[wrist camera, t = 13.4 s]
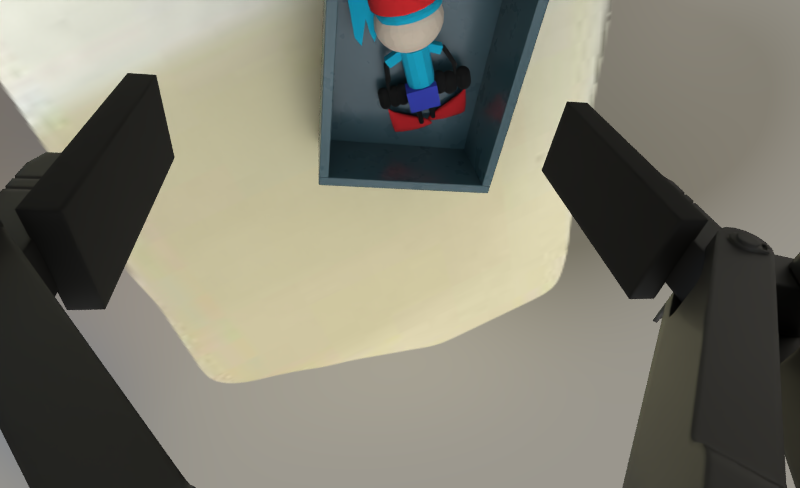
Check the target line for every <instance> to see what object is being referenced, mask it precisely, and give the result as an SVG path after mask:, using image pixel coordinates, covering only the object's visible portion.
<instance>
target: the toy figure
mask: <svg viewBox="0 0 800 488" xmlns="http://www.w3.org/2000/svg"><path fill="white" fill-rule="evenodd" d="M442 2H443V1H442V0H348V4H349V9H350V15H351V20H352V26H353V32H354V37H355V39H356V40H357V41H358V42H359V44H360V45H361V46H362V41H363V33H364V26H365V19H366V22H367V25H368V28H369V32H370V34H371V36H372V38H373V40H374V42H375V39H376V36H377V37H378V39H379V40H380V41H381V43H382V44H383V45H384V46H386V47H387V48H389V49H390V50H393V51H392V52H390V53H389V54H387V55H386V56H385V57H384V60H385V62H384V63H383V64H384V71H385V81H386V86H387V89H386V88H384V87H382V88H380V89H379V90H378V97H379V101H380V106H381V107H382V108H383V109H388V111H389V115H390V119H391V122H392V125H393V128H394V130H395V132H403V131H409V130H414V129H419V128H422V127H425V126H427V125H430V124H432V121H430V120H438V119H444V118H447V117H451V116H454V115H458V114H460V113H462V112H464V111H465V106H466V89H467V88H469V86H470V84H471V75H470V70H469V68H468V67H466V66H460V67H458V68H457V69H456V65H457V62H456V61H455V59H454V58H453V56H452V55H451V53H450V52H449V50H448V49H447V47H446V46H445V45H442V42H438V41H434V39H435V38H436V37H437V36H438V34H439V32H440V31H441V28H442V25H443V21H444V10H443V7H442ZM442 50H443V52H444V53H445V54H446V56H447V57H448V59H449V60H450V62H451V63H452V67H453V71H451V70H447V71H445V72H443V71H441V70H436V71H434V70H433V64H432V59H431V54H430V52H431V53H436V54H441V51H442ZM401 60H402V64H403V68H404V72H405V76H406V80H407V83H406V84H404V83H399V84H398V85H397V86H395V85H392V86H390V84H389V83H390V82H391V77H390V69H389V68H392V67H393V66H394V65H396V64H397V63H399V62H400V61H401ZM457 86H458V87H459V88H460V89H463V90H462V91H461V92H460V93H459V94H457V95H456V96H455V97H453V98H452V99H451V100H449V101H448V102H446V103H445V104H444V105H442V106H441V107H439V108H438V109H437V110H435V111H434V107H436V106H440V105H441V104H440V99H439V94H440V93H443V92H446V93H448V94H451V93H454V92H455V91H456V89H457ZM438 93H439V94H438ZM408 102H409V106H410V110H411V113H415V112H417V115H418V117H417V116H412V115H407V114H402V113H398V112H394V111H392V110H390V109H389V108H390V106H391V105H392V106H394V107H398V106H399V105H400V104H401V105H406V104H407V103H408ZM426 109H429V111H430V116H429V117H428V119H426V118H423V115H422V111H423V110H426Z"/></svg>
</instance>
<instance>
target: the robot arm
mask: <svg viewBox="0 0 800 488" xmlns="http://www.w3.org/2000/svg"><path fill="white" fill-rule="evenodd" d="M173 160H174V153H173V149H172V144H171V140H170V135H169V131H168V126H167V122H166V117H165V113H164V108H163V104H162V99H161V95H160V90H159V86H158V81H157V77H156V75H148V74H133V73H127V75H126V76H125V77H124V78H123V79H122V81H121V82H120V83H119V84H118V85H117V87H116V88H115V89H114V90H113V91H112V93H111V94H110V95H109V96H108V97H107V99H106V100H105V101H104V102H103V103H102V105H101V106H100V107H99V108H98V110H97V111H96V112H95V113H94V114H93V116H92V117H91V118H90V119H89V120H88V122H87V123H86V124H85V125H84V126H83V128H82V129H81V130H80V131H79V132H78V134H77V135H76V136H75V137H74V138H73V140H72V141H71V142H70V143H69V144H68V146H67V147H66V148H65V149H64V150H63V152H62V153H49V152H46V153H44V154H42V155H40V156H39V157H37V158H35V159H33V160H31V161H30V162H28V163H26V164H25V165H24V166H23V168H22V169H21V170H20V171H19V172H18V173H17V174H16V175H15V178H13V179H12V180H11V181H10V182H9V183H8V184H7V185H6V189H2V191H1V192H0V429H1V431H2V433H3V435H4V437H5V439H6V441H7V443H8V445H9V447H10V449H11V451H12V453H13V455H14V457H15V459H16V461H17V463H18V465H19V467H20V469H21V471H22V473H23V475H24V477H25V479H26V481H27V483H28V485H29V487H30V488H195V487H194V486H192V485H190V484H189V483H188V482H187V481H186V479H185V478H184V477H183V475H182V474H181V473H180V471H179V470H178V469H177V467H176V466H175V464H174V463H173V462H172V460H171V459H170V457H169V456H168V455H167V454H166V452H165V451H164V449H163V448H162V446H161V445H160V444H159V442H158V441H157V439H156V438H155V436H154V435H153V434H152V432H151V431H150V429H149V428H148V427H147V425H146V424H145V422H144V421H143V420H142V418H141V417H140V416H139V414H138V413H137V411H136V410H135V409H134V407H133V406H132V404H131V403H130V401H129V400H128V399H127V397H126V396H125V394H124V393H123V392H122V390H121V389H120V387H119V386H118V385H117V384H116V382H115V381H114V379H113V378H112V376H111V375H110V374H109V372H108V371H107V369H106V368H105V367H104V365H103V364H102V362H101V361H100V360H99V358H98V357H97V355H96V354H95V353H94V351H93V350H92V348H91V347H90V346H89V344H88V343H87V341H86V340H85V339H84V337H83V336H82V334H81V333H80V332H79V330H78V329H77V327H76V326H75V325H74V323H73V322H72V320H71V319H70V318H69V316H68V315H67V313H66V312H65V311H64V309H63V308H62V306H61V305H60V304H59V302H58V301H57V299H56V298H55V295H56V294H57V292H58V294H59V296H60V297H61V299H62V301H63V303H64V305H65V307H66V309H67V310H89V309H90V310H91V309H105V308H106V306H107V304H108V302H109V300H110V297H111V295H112V293H113V291H114V289H115V287H116V284H117V282H118V280H119V278H120V276H121V273H122V271H123V269H124V267H125V265H126V263H127V260H128V258H129V256H130V254H131V252H132V249H133V247H134V245H135V243H136V241H137V239H138V236H139V234H140V232H141V230H142V228H143V225H144V223H145V221H146V219H147V217H148V214H149V212H150V210H151V208H152V206H153V204H154V201H155V199H156V197H157V195H158V193H159V190H160V188H161V186H162V184H163V182H164V180H165V177H166V175H167V173H168V171H169V169H170V166H171V164H172V162H173ZM542 172H543V173H544V175H545V176H546V178H547V179H548V181H549V182H550V183H551V185H552V186H553V188H554V189H555V191H556V192H557V194H558V195H559V197H560V198H561V200H562V201H563V203H564V204H565V205H566V207H567V208H568V210H569V211H570V213H571V214H572V216H573V217H574V219H575V220H576V221H577V223H578V224H579V226H580V227H581V229H582V230H583V232H584V233H585V235H586V236H587V238H588V239H589V240H590V242H591V244H592V245H593V246H594V248H595V249H596V251H597V252H598V254H599V255H600V256H601V258H602V260H603V261H604V263H605V264H606V265H607V267H608V268H609V270H610V271H611V273H612V274H613V276H614V277H615V279H616V280H617V282H618V283H619V284H620V286H621V287H622V289H623V290H624V292H625V293H626V295H627V296H628V298H629V299H651V298H655V296H656V295H657V294H658V292H659V291H660V289H661V288H662V286H663V285H664V283H665V282H666V283H667V285H668V286H669V287H670V288H671V290H672V291H673V293H672V295H671V296H670V297H669V299H668V300H667V302H666V303H665V304H664V306H663V307H662V308H661V310H660V311H659V313H658V314H657V315H656V317H655V318H654V320H653V321H655V322H658V321H659V319H661V318H662V322H661V326H660V330H659V335H658V339H657V343H656V347H655V351H654V356H653V360H652V364H651V368H650V373H649V377H648V381H647V385H646V390H645V394H644V398H643V402H642V407H641V411H640V416H639V419H638V424H637V429H636V432H635V436H634V441H633V445H632V449H631V454H630V458H629V462H628V467H627V471H626V475H625V479H624V483H623V488H787V485H786V475H785V474H786V473H785V457H786V460H787V463H788V466H789V469H790V472H791V475H792V478H793V481H794V484H795V487H796V488H800V253H799V254H798V255H797V256H796V257H795V259H792V258H788V257H783V256H778V255H774V252H773V250H772V248H771V247H770V246H769V245H767V243H766V242H764V241H763V240H762V239H760V238H759V237H757V236H755V235H753V234H751V233H749V232H747V231H744V230H740V229H737V228H729V227H724V228H721V227H720V226H719V225H718V224H717V223H716V222H715V221H714V220H713V219H712V218H710V216H708V215H707V214H706V213H705V212H704V211H703V210H702V209H701V208H700V207H699V206H698V205H697V204H696V203H693V200H692V199H691V198H690V197H689V196H687V195H684V192H683V191H682V190H681V189H680V188H679V187H678V186H677V185H676V184H675V183H674V182H672V181H671V180H669V179H667V178H666V177H664V176H663V175H661V174H660V173H659V172H658V171H657V170H656V169H655V168H654V167H653V166H652V165H651V164H650V163H649V162H648V161H647V160H646V159H645V158H644V157H643V156H642V155H641V154H639V152H637V150H636V149H635V148H633V147H632V146H631V145H630V144H629V143H628V142H627V141H626V140H625V139H624V138H623V137H622V136H621V135H620V134H619V133H618V132H617V131H616V130H615V129H614V128H613V127H612V126H610V125H609V123H607V121H605V120H604V119H603V118H602V117H601V116H600V115H599V114H598V113H597V112H596V111H595V110H594V109H593V108H592V107H591V106H590V105H589V104H588V103H580V102H567V103H566V106H565V109H564V111H563V114H562V117H561V119H560V122H559V125H558V128H557V130H556V133H555V136H554V138H553V141H552V144H551V147H550V149H549V152H548V155H547V157H546V160H545V163H544V165H543V168H542Z"/></svg>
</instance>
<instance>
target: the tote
mask: <svg viewBox="0 0 800 488" xmlns="http://www.w3.org/2000/svg"><path fill="white" fill-rule="evenodd" d="M442 1H443V2H442V7H443V10H444V21H443V25H442V28H441V31H440V32H439V34H438V36H437V37H436V38H435V39H434V41H438V42H442V45H445V46H446V47H447V49H448V50H449V52H450V53H451V55H452V56H453V58H454V59H455V61H456V62H457V65H456V69H457V68H458V67H460V66H466V67H468V68H469V70H470V75H471V84H470V86H469V88H467V89H466V106H465V111H464V112H462V113H460V114H458V115H454V116H451V117H447V118H444V119H438V120H430V121H432V124H430V125H427V126H425V127H422V128H419V129H414V130H409V131H403V132H395V130H394V128H393V125H392V122H391V119H390V115H389V111H388V109H383V108H382V107H381V106H380V101H379V97H378V90H379V89H380V88H382V87H384V88H386V89H387V86H386V81H385V71H384V64H383V63H384V62H385V60H384V57H385V56H386V55H387V54H389V53H390V52H392V51H393V50H390V49H389V48H387V47H386V46H384V45H383V44H382V43H381V41H380V40H379V39H378V37H377V36H376V39H375V42H374V40H373V38H372V36H371V34H370V32H369V28H368V25H367V22H366V19H365V26H364V33H363V41H362V46H361V45H360V44H359V42H358V41H357V40H356V39H355V37H354V32H353V26H352V20H351V15H350V9H349V4H348V0H324V13H323V39H322V66H321V92H320V119H319V185H333V186H353V187H374V188H394V189H414V190H434V191H454V192H474V193H488V191H489V187H490V184H491V181H492V178H493V175H494V172H495V169H496V166H497V162H498V159H499V156H500V153H501V150H502V147H503V144H504V140H505V137H506V134H507V131H508V128H509V125H510V121H511V118H512V115H513V112H514V109H515V106H516V103H517V99H518V96H519V93H520V90H521V87H522V84H523V80H524V77H525V74H526V71H527V68H528V65H529V62H530V58H531V55H532V52H533V49H534V46H535V43H536V39H537V36H538V33H539V30H540V27H541V24H542V21H543V17H544V14H545V11H546V8H547V5H548V2H549V0H442ZM430 54H431V59H432V64H433V70H434V71H436V70H441V71H443V72H445V71H447V70H451V71H453V67H452V63H451V62H450V60H449V59H448V57H447V56H446V54H445V53H444V52H443V50H442V51H441V54H436V53H431V52H430ZM389 69H390V77H391V82H390V83H389V84H390V86H392V85H395V86H397V85H398V84H399V83H404V84H406V83H407V80H406V76H405V72H404V68H403V64H402V60H401V61H400V62H399V63H397V64H396V65H394V66H393V67H392V68H389ZM462 90H463V89H460V88H459V87H458V86H457V89H456V91H455V92H454V93H451V94H448V93H446V92H443V93H440V94H439V93H438V94H439V99H440V104H441V105H440V106H436V107H434V111H435V110H437V109H438V108H439V107H441V106H442V105H444V104H445V103H446V102H448V101H449V100H451V99H452V98H453V97H455V96H456V95H457V94H459V93H460V92H461V91H462ZM389 109H390V110H392V111H394V112H398V113H402V114H407V115H412V116H417V117H418V115H417V112H415V113H411V110H410V106H409V102H408V103H407V104H406V105H401V104H400V105H399V106H398V107H394V106H392V105H391V106H390V108H389ZM422 115H423V118H426V119H428V117H429V116H430V111H429V109H426V110H423V111H422Z"/></svg>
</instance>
